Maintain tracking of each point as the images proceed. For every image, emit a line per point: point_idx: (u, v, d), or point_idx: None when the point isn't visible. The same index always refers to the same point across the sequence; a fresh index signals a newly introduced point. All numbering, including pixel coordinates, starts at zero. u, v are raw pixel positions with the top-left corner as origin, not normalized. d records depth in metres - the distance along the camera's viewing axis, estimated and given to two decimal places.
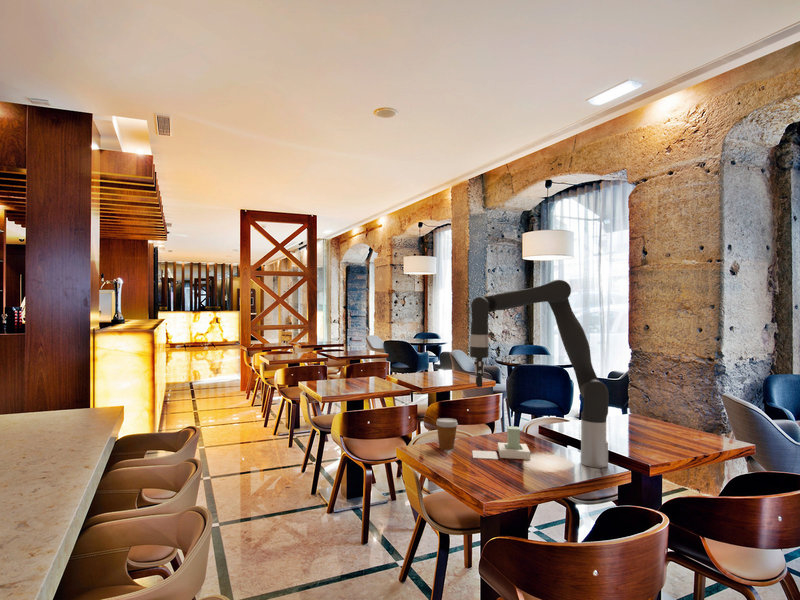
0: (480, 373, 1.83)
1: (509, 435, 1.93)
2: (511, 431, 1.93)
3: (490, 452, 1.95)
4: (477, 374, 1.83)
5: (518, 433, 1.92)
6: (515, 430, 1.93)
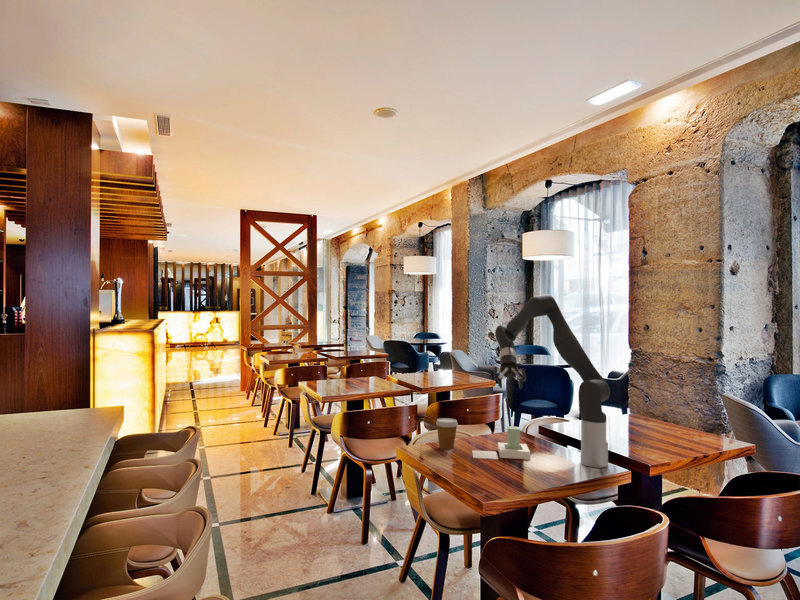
0: None
1: (509, 435, 1.93)
2: (511, 431, 1.93)
3: (490, 452, 1.95)
4: None
5: (518, 433, 1.92)
6: (515, 430, 1.93)
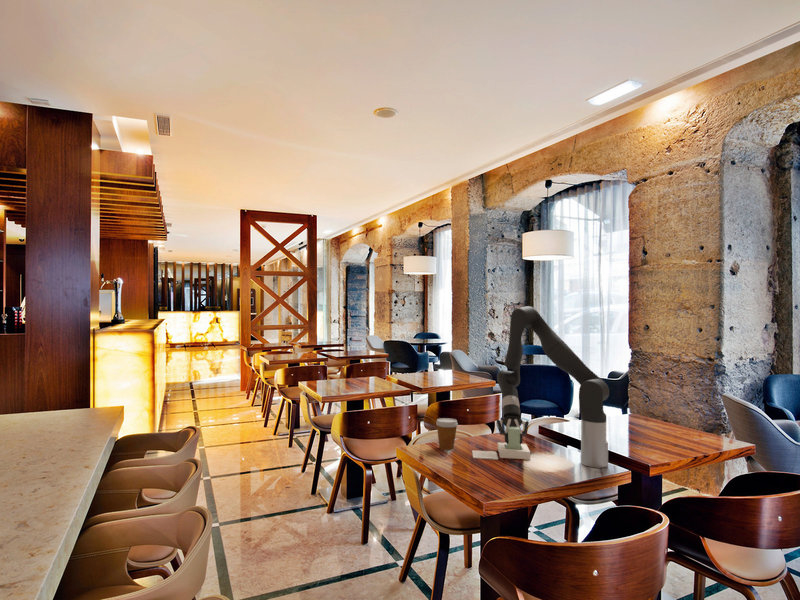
0: None
1: (509, 435, 1.93)
2: (511, 431, 1.93)
3: (490, 452, 1.95)
4: (500, 432, 1.98)
5: (518, 433, 1.92)
6: (515, 430, 1.93)
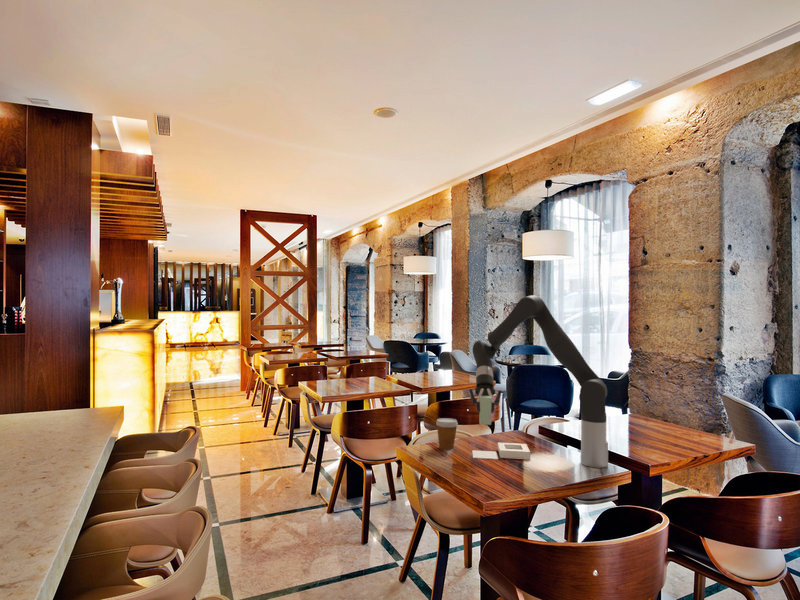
0: None
1: (481, 404, 1.91)
2: (482, 399, 1.91)
3: (490, 452, 1.95)
4: (472, 401, 1.96)
5: (490, 402, 1.91)
6: (487, 399, 1.91)
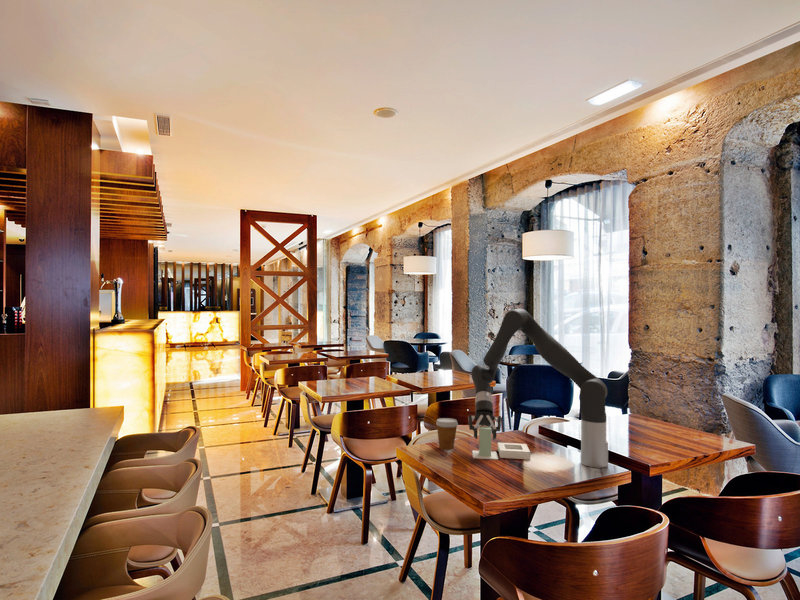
0: None
1: (480, 435, 1.90)
2: (482, 431, 1.90)
3: None
4: None
5: (490, 433, 1.90)
6: (486, 430, 1.90)
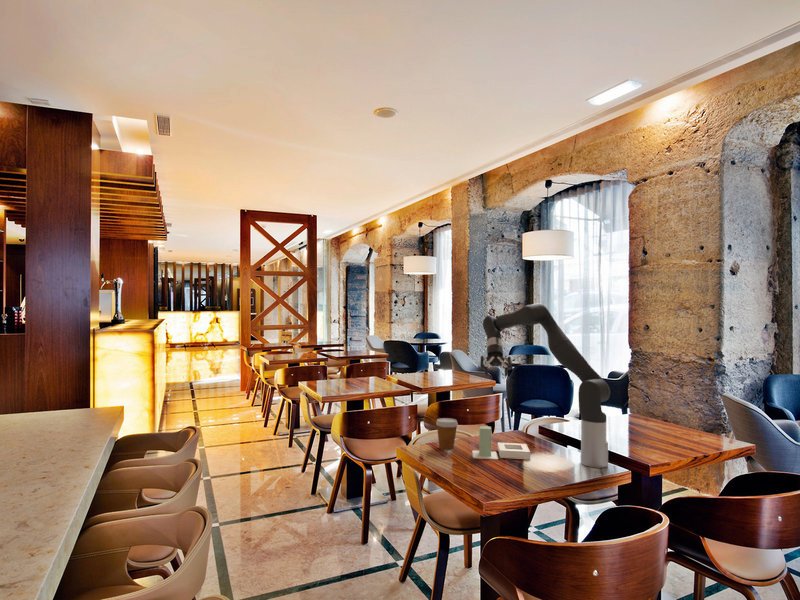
0: None
1: (480, 435, 1.90)
2: (482, 431, 1.90)
3: None
4: (480, 367, 2.18)
5: (490, 433, 1.90)
6: (487, 430, 1.90)
